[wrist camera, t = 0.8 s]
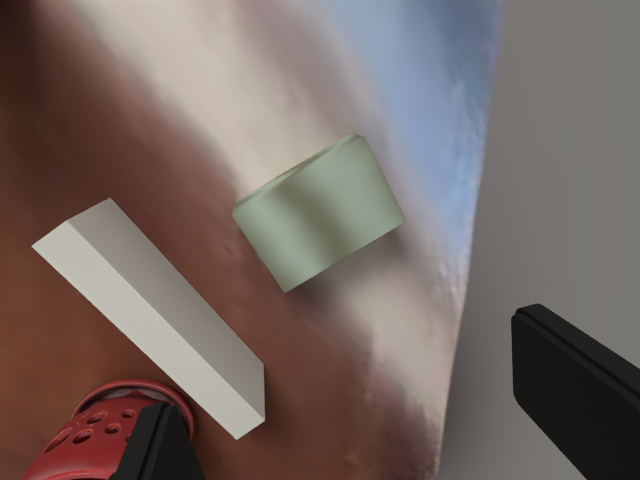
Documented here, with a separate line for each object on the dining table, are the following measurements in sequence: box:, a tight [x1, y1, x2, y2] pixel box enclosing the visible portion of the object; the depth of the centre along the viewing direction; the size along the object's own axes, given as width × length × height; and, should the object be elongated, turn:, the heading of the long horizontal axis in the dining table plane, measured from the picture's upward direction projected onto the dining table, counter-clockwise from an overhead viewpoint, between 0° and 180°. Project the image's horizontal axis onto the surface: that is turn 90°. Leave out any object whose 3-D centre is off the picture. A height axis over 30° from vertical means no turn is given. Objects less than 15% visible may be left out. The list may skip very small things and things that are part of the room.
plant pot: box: [20, 378, 194, 480], centre depth 34 cm, size 13×13×12 cm
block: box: [232, 134, 406, 293], centre depth 34 cm, size 12×8×6 cm, turn 120°
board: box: [32, 198, 265, 440], centre depth 33 cm, size 3×22×8 cm, turn 34°
